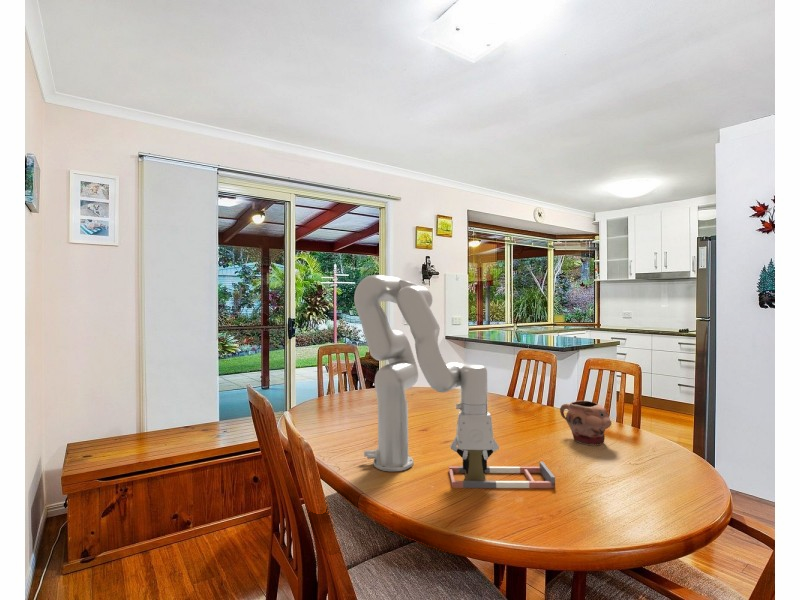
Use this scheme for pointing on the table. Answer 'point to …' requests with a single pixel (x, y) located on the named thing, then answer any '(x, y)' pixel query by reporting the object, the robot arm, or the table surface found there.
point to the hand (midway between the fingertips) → (474, 471)
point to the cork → (475, 466)
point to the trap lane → (507, 484)
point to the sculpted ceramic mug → (586, 421)
